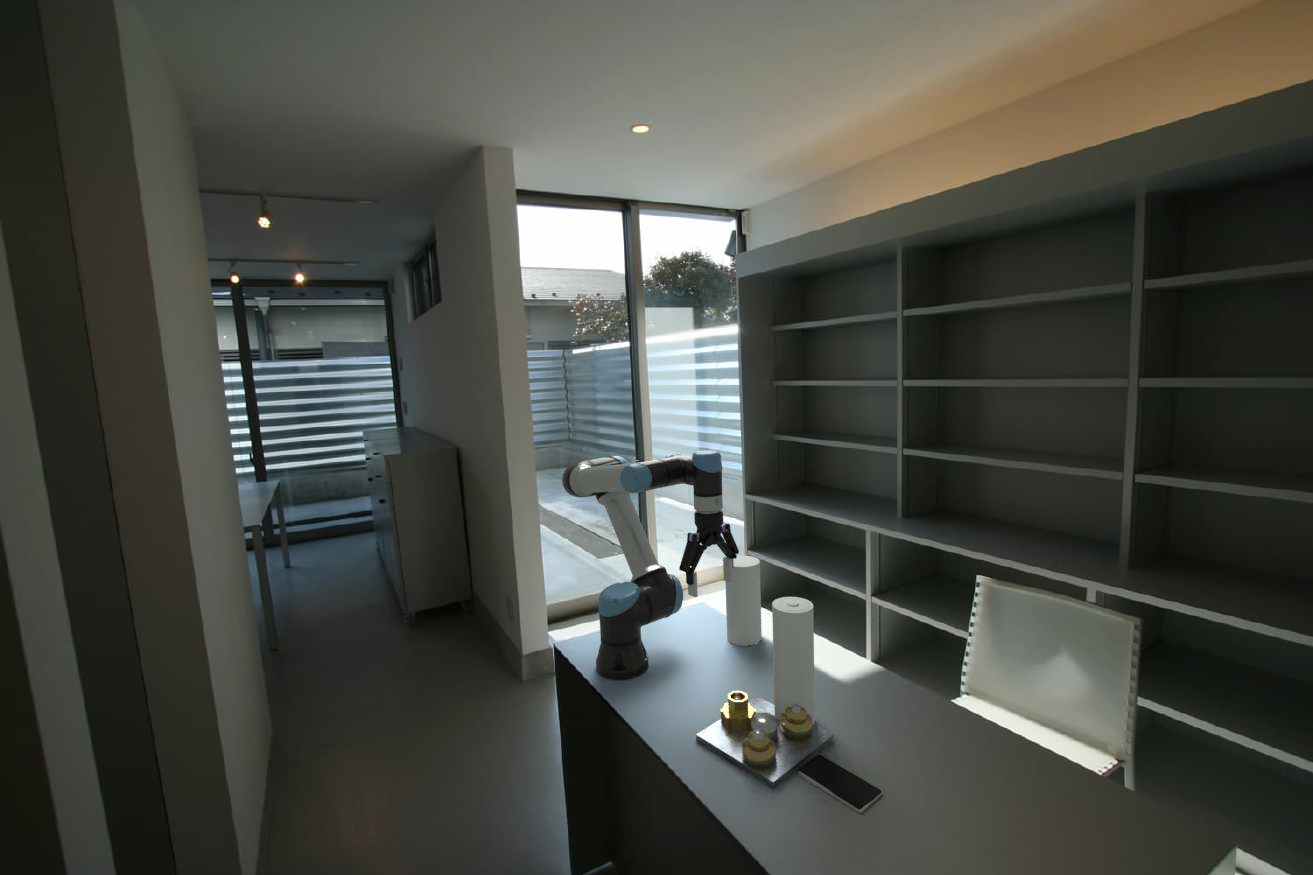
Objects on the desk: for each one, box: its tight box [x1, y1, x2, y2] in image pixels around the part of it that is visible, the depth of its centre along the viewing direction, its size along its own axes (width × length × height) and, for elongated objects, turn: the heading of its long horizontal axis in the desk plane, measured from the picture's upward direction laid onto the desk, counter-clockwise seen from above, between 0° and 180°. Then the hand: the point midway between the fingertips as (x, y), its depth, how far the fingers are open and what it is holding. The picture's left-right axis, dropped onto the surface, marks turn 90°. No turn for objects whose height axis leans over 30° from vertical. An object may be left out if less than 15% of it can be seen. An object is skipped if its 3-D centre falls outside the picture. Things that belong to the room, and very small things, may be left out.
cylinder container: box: [771, 596, 816, 725], centre depth 141 cm, size 9×9×30 cm
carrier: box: [695, 696, 835, 790], centre depth 135 cm, size 22×22×7 cm
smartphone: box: [797, 754, 883, 814], centre depth 121 cm, size 8×1×15 cm
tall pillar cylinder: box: [724, 555, 762, 647], centre depth 184 cm, size 11×11×25 cm
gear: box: [720, 690, 756, 731], centre depth 141 cm, size 8×8×6 cm
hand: (711, 588), depth 158 cm, fingers open, 13 cm apart
